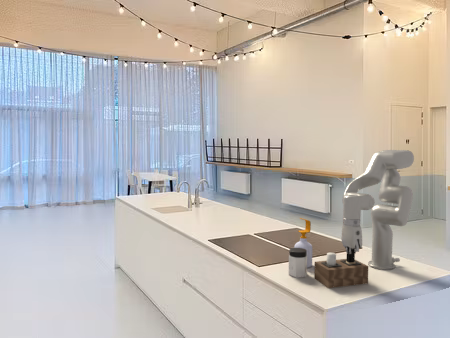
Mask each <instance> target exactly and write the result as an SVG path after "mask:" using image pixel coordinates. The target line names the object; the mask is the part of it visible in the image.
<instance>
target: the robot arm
mask: <svg viewBox="0 0 450 338" xmlns="http://www.w3.org/2000/svg"><path fill="white" fill-rule="evenodd" d="M414 160H415V156H414V154H413V152H412V151H410V150H406V149H385V150H381V151H376V152H374V153H373V155H372V156H371V158H370V160H369V161H368V164H367V166H366V168H365V170H364V172H363V173H362V174H361V175H359V176H358V177H355V178H354V179H353V180H352V181H351V182H350V183H349V184H348V185H347V187H346V189H345V191H344V193H343V195H342V227H341V236H340V237H341V244H342V247H344V248H345V252H346V259H347V262H355V260H356V257H355V256H356V253H358V252H360V249H362V248H363V230H362V227H361V215H362V214H361V212H362V211H369V210H370V218H371V225H372V228H371V229H372V233H371V234H372V236H371V239H372V240H371V260H369V261H368V265H367V266H368V267H369V266H370V267H371V268H374V269H377V270H385V271H388V270H394V269H395V268H396V265H395V263H398V262H400V260H401V259H400V257H394V256H393V238H394V237H393V236H394V234H393V230H392V228H391V226H395V227H396V226H397V227H404V226H406V225H407V223H408V220H409V218H410V213H411V209H412V203H413V199H414V195H413V190H412V189H411V187H409V186H406V185H400V182H401V175H400V173H399V171H398V170H403V169H407V168H410V167H411V166H412V165H413V163H414V162H415V161H414ZM378 184H380V185H379V190H378V200H379V201H380V202H382V203H386V204H379V203H378V204H375V202H376V201H375V198H374V197H373V195H372V194H369V193H363V192H362V193H361V192H359V191H361V190H363V189H366V188H369V187H373V186H375V185H378ZM390 204H391V205H390ZM392 204H393V205H392ZM390 225H391V226H390Z"/></svg>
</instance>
